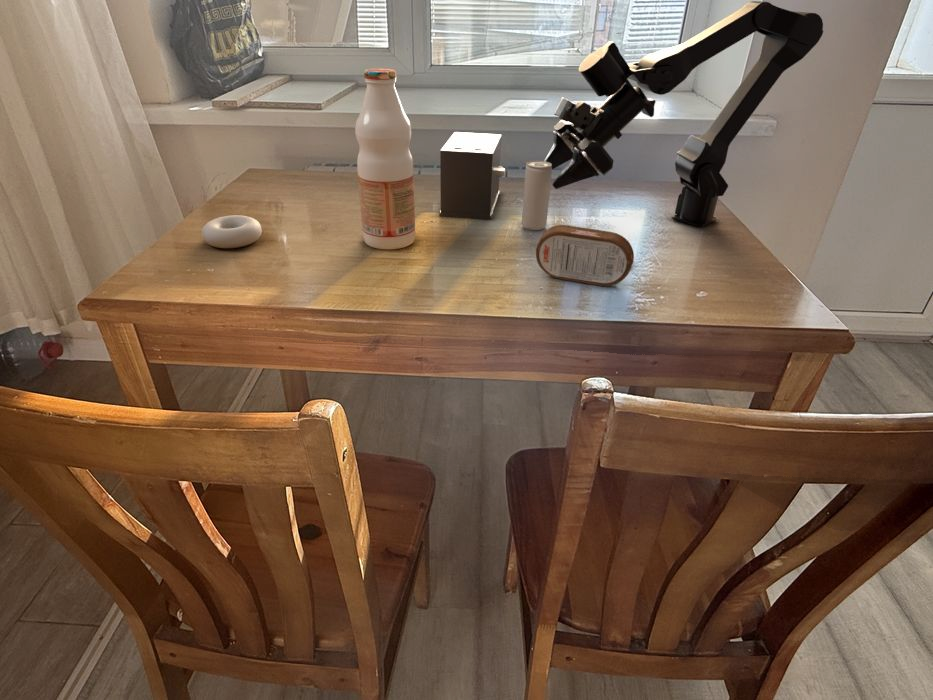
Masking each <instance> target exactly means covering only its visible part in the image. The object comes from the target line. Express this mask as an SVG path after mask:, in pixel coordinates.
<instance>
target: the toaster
mask: <svg viewBox="0 0 933 700" xmlns="http://www.w3.org/2000/svg"><path fill="white" fill-rule="evenodd" d="M501 152H502V134H500V133H499V134H497V133H480V132H461V131H454V132H453V134H452V135H451V136H450V137H449V138H448V140H447V141H446V143H445V144H444V145H443V146H442V147H441V149H440V154H439V155H440V156H439V159H440V161H439V162H440V167H439V168H440V170H439V171H440V172H439V173H440V210H439V212H438V213H439V217H447V218H460V219H461V218H462V219H463V218H464V219H476V220H488V221H489V220H492V217H493V215H494V212H495V209H496V206H497V203H498V200H499V197H500V195H501V194H500V193H501V190H499V189H500V178H503V177H504V176H505V174H506V168H505V167H503V166H502V165H501V154H502V153H501Z"/></svg>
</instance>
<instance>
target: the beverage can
mask: <svg viewBox="0 0 933 700" xmlns="http://www.w3.org/2000/svg"><path fill="white" fill-rule="evenodd" d="M551 166H552V164H551V163H549V162H546V161H544V160H530V161H527V162H526V166H525V172H524V185H523V197H522V198H523V199H522V211H521V212H522V213H521V225H522V227H523V228H524V229H525V230H528V231H541V230H542V231H543V229H545V228H546V227H547V225H548V224H547V223H548V213H549V204H550V193H551V185H552V184H551V183H552V174H553V169H552V167H551Z"/></svg>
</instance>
